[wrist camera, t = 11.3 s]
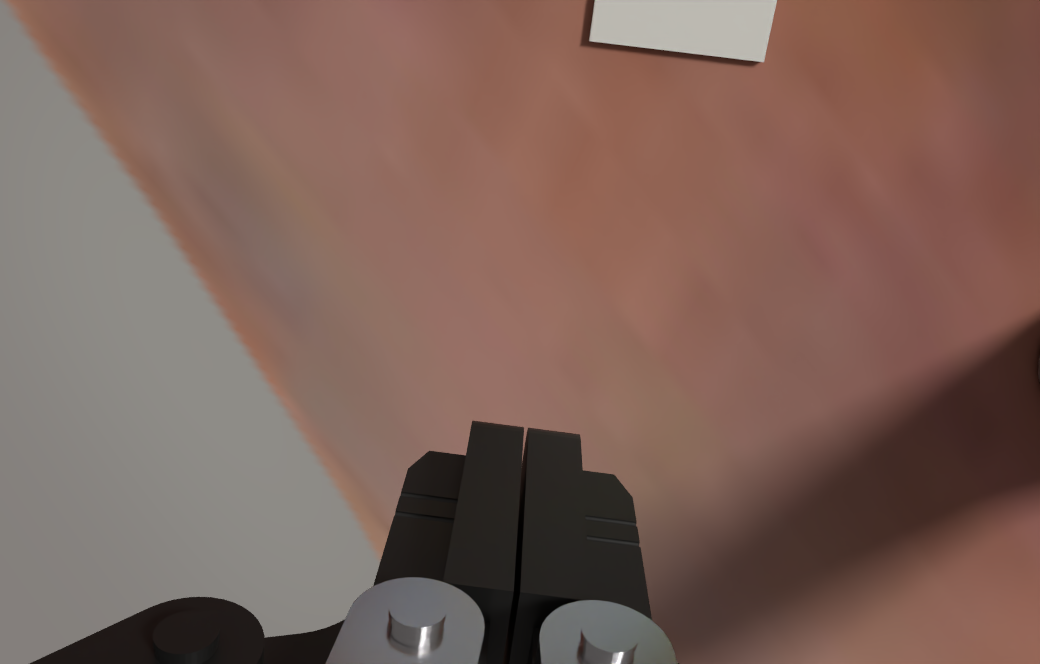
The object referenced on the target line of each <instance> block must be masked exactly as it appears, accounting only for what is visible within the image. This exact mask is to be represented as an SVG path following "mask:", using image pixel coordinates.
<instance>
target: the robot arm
mask: <svg viewBox="0 0 1040 664" xmlns="http://www.w3.org/2000/svg"><path fill="white" fill-rule="evenodd" d="M1038 377H1039V381H1040V356H1039V367H1038ZM523 435H524V427H517V426H510V425H502V424H494V423H487V422H479V421H472V425H471V431H470V436H469V442H468V447H467V453H466V456H465V455H458V454H450V453H442V452H435V451H429V452H427V453H426V454H425V455H424V456H423V457H421V458H420V459H419V460H418V461H417V462H416V463H414V464H413V465H412V466H411V467H410V468H408V471H407V474H406V478H405V481H404V484H403V488H402V491H401V496H400V498H399V501H398V505H397V508H396V512H395V516H394V518H393V522H392V525H391V528H390V532H389V535H388V538H387V542H386V545H385V548H384V552H383V555H382V559H381V562H380V565H379V569H378V572H377V575H376V579H375V582H374V586H373V587H371V588H369V589H368V590H366V591H365V592H364V593H362V594H361V595H360V596H359V597H358V598H357V599H356V600H355V601H354V603H353V604H352V606H351V608H350V610H349V612H348V614H347V616H346V619H345V620H343V621H341V622H339V623H337V624H335V625H332V626H330V627H327V628H324V629H321V630H317V631H313V632H307V633H301V634H293V635H284V636H276V637H267V638H264V633H263V629H262V626H261V625H260V623H259V621H258V620H257V619H256V617H255V616H254V615H253V614H252V613H251V612H249V611H248V610H247V609H245V608H243V607H242V606H240V605H238V604H236V603H233V602H230V601H227V600H223V599H218V598H212V597H210V598H209V597H189V598H181V599H176V600H171V601H167V602H164V603H160V604H158V605H155V606H153V607H150V608H148V609H146V610H144V611H141V612H139V613H137V614H135V615H133V616H131V617H129V618H126V619H124V620H122V621H120V622H118V623H116V624H114V625H112V626H109V627H107V628H105V629H103V630H101V631H99V632H96V633H94V634H92V635H90V636H88V637H86V638H84V639H81V640H79V641H77V642H75V643H73V644H71V645H69V646H66V647H64V648H62V649H60V650H58V651H56V652H54V653H51V654H49V655H47V656H45V657H43V658H41V659H39V660H36V661H34V662H32V663H30V664H679V663H677V659H676V656H675V652H674V649H673V647H672V644H671V642H670V640H669V639H668V637H667V636H666V634H665V633H664V632H663V631H662V630H661V628H660V627H659V626H658V625H656V624H655V623H654V622H653V621H652V618H651V612H650V605H649V599H648V593H647V586H646V580H645V574H644V567H643V561H642V554H641V548H640V547H639V535H638V529H637V527H636V516H635V510H634V504H633V497H632V496H631V495H630V494H629V493H628V491H627V490H626V489H625V488H624V486H623V485H622V484H621V483H620V481H619V480H618V479H617V478H616V476H615V475H613V474H605V473H598V472H590V471H583V470H582V454H581V439H580V435H579V434H572V433H565V432H557V431H549V430H542V429H534V428H528V430H527V436H526V441H525V448H524V455H523V461H522V451H523ZM521 467H522V468H521Z"/></svg>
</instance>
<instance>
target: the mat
mask: <svg viewBox="0 0 1040 664" xmlns="http://www.w3.org/2000/svg"><path fill="white" fill-rule="evenodd" d="M776 2H777V0H594V8H593V15H592V22H591V29H590V37H589V41H593V42H601V43H609V44H617V45H626V46H634V47H642V48H650V49H659V50H667V51H675V52H684V53H692V54H700V55H708V56H717V57H725V58H733V59H741V60H750V61H758V62H764V59H765V54H766V49H767V45H768V40H769V35H770V30H771V26H772V21H773V16H774V12H775V7H776Z"/></svg>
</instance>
